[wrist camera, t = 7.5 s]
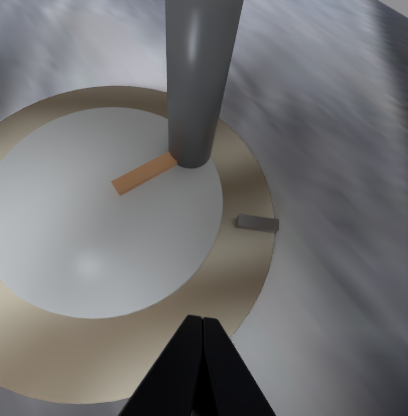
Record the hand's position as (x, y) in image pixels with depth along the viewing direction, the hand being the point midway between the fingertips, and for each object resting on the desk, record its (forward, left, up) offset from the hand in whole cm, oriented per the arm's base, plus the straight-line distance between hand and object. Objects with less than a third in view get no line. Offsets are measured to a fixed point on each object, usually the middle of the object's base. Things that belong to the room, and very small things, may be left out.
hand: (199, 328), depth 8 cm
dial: (+7, +1, -5) cm, 9 cm away
